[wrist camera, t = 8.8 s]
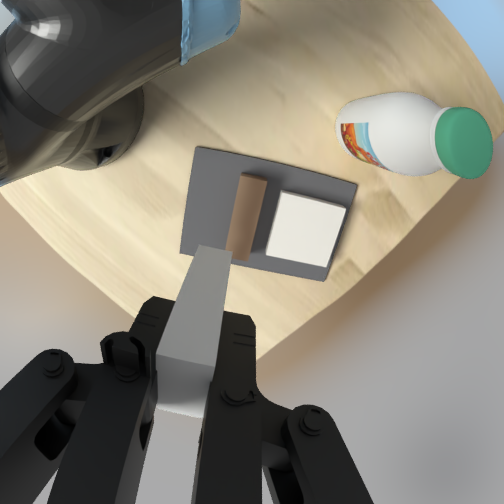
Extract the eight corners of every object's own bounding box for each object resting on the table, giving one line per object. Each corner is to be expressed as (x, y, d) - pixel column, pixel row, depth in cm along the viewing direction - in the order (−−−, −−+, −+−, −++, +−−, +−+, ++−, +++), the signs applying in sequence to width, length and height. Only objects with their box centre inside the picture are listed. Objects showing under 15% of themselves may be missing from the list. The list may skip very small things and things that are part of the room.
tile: (265, 255, 35) (326, 267, 35) (282, 192, 31) (346, 208, 32) (265, 249, 36) (323, 261, 37) (280, 189, 33) (342, 205, 34)
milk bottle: (329, 100, 29) (420, 74, 10) (386, 100, 28) (503, 93, 10) (337, 162, 32) (428, 208, 14) (392, 158, 31) (505, 201, 13)
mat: (180, 252, 37) (179, 253, 37) (196, 146, 31) (195, 146, 31) (323, 280, 39) (323, 281, 38) (355, 184, 33) (357, 185, 32)
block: (225, 248, 36) (223, 256, 34) (241, 172, 32) (240, 175, 30) (248, 253, 36) (248, 261, 34) (266, 177, 32) (267, 181, 30)
